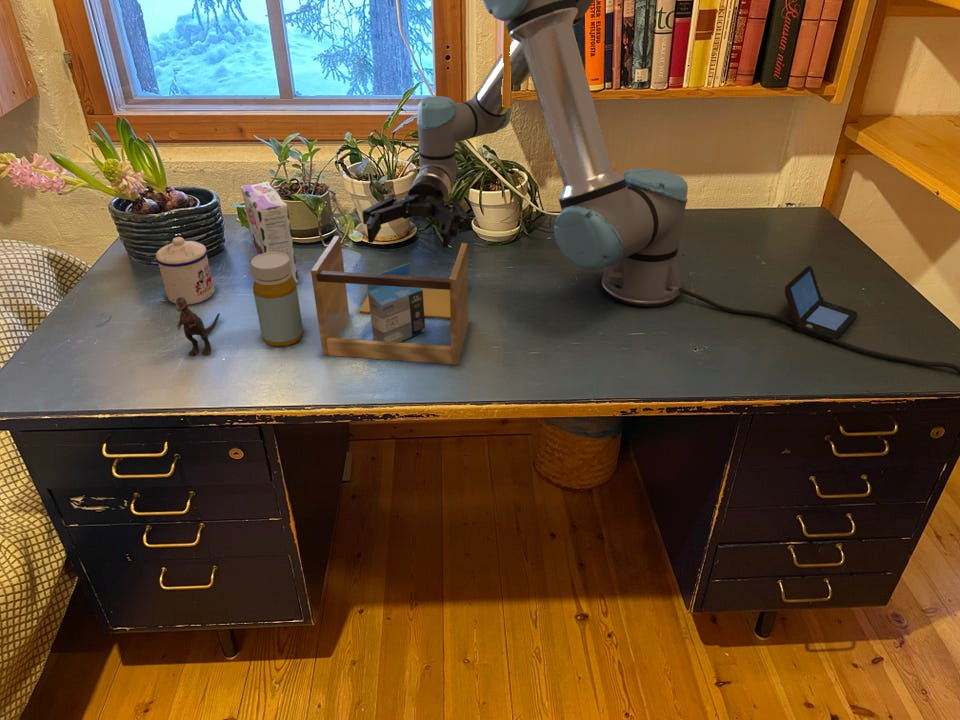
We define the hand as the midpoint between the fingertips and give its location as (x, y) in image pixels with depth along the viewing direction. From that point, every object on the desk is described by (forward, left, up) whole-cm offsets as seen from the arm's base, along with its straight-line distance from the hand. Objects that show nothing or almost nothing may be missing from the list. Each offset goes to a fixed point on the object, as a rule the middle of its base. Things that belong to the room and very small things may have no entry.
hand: (407, 238), depth 131 cm
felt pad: (0, -2, -14) cm, 14 cm away
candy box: (+30, -10, -14) cm, 35 cm away
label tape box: (0, +11, -14) cm, 18 cm away
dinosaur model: (+33, +17, -14) cm, 40 cm away
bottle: (+20, +14, -14) cm, 28 cm away
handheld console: (-74, -4, -14) cm, 76 cm away
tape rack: (0, +12, -14) cm, 18 cm away
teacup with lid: (+43, 0, -14) cm, 45 cm away
